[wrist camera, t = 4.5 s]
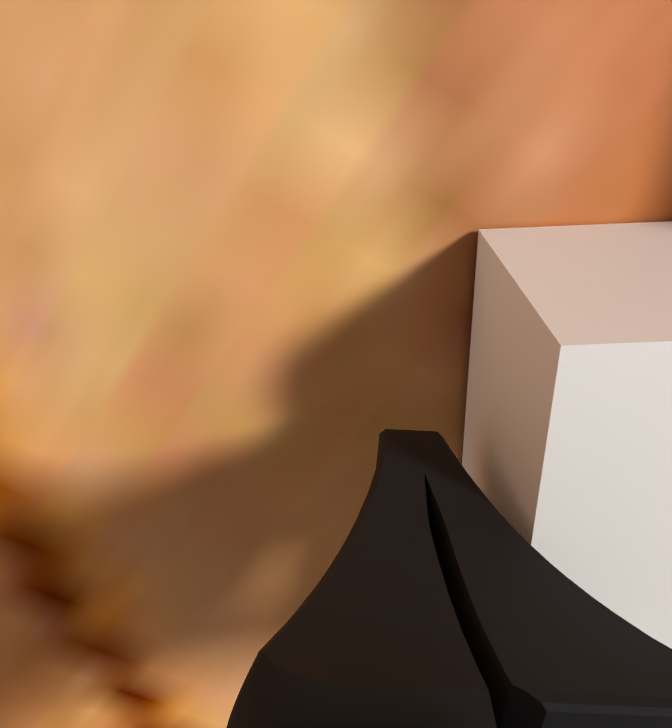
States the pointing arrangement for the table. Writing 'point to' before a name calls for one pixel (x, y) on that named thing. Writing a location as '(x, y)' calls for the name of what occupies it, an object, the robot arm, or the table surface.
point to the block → (579, 404)
